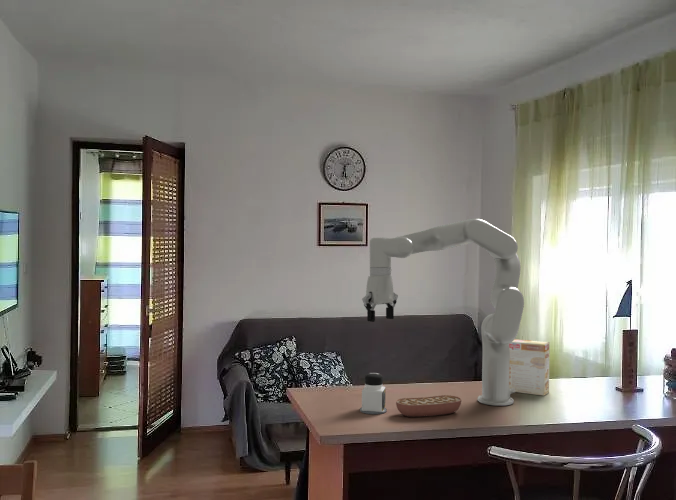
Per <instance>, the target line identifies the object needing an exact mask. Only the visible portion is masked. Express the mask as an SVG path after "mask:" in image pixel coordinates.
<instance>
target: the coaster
mask: <svg viewBox="0 0 676 500" xmlns="http://www.w3.org/2000/svg"><path fill="white" fill-rule="evenodd" d="M359 412H361V413H363V414H366V415H382V414H386V413H387V407H385V408H384V410H383V412H371V411H362V406H361V407H360V408H359Z"/></svg>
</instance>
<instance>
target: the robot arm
mask: <svg viewBox="0 0 676 500" xmlns="http://www.w3.org/2000/svg"><path fill="white" fill-rule="evenodd" d="M473 243H474V244H475V245H477V246H479V247H481V248H483V249H484V250H486V251H487V253H488V255H490V257H492V258H493V260H494V262H495V275H494V280H493V284H492V288H491V292H490V297H489V300H490V301H489V303H490V304H491V306H492V307H493V308H494V313H490V314H488V315H487V316H485V317H484V318H483V320H482V322H481V325H480V326H481V327H480V333H481V342H482V358H481V359H482V360H481V362H482V367H481V368H482V369H481V372H482V373H481V374H482V375H481V379H482V380H481V381H482V382H481V384H482V385H481V386H482V387H481V395H478V396H477V401H478V402H479V403H481V404H483V405H488V406H496V407H497V406H498V407H500V406H501V407H502V406H510V405H513V404H514V398H513V397H511V395H512V394H515V393H516V392H515V389H514V388H509V363H510V349H509V343H511V342H512V341H514V339H516V338H517V336H518V333H519V329H520V326H521V320H522V318H523V317H522V316H523V312H524V307H525V299H524V296H523V295H524V294H523V293H522V291H520V290H519V289H518V287H519V283H520V276H521V267H522V266H521V261H520V258H519V255H518V249H519V246H518V242H517V241H516V239H515V238H514V237H513V236H512V235H510V234H508V233H507V232H504V231H503V230H501V229H499V228H498V227H496V226H494V225H493V224H491V223H489V222H488V221H486V220H485V219H484V220H483V219H480V218H471V219H465V220H461V221H457V222H456V221H455V222H453V223H447V224H444V225H440V226H435V227H431V228H428V229H426V230H423V231H417V232H413V233H409V234H408V233H407V234H404V235H400V236H396V237H392V238H390V237H372V238H371V239H370V240H369V275H368V277H367V282H366V291H365V292H366V293H365V296H363V297H362V299H361V300H362V303H363V306H364V308H365V310H366V312H367V316H366V317H367V321H368V322H369V323H370V322H372V323H373V322H376V310H375V308H376V306H378V305H385V306H386V308H385V318H386V319H388V320H394V317H395V316H394V309H395V307H396V304H397V300H398V298H399V295H398V294H397V293H395V292H394V283H393V276H392V258H399V259H405V258H408V257H410V256H411V255H414V254H420V253H424V252H438V251H439V252H440V251H444V250H447V249H452V248H457V247H461V246H465V245H469V244H473Z"/></svg>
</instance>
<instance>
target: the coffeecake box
mask: <svg viewBox="0 0 676 500" xmlns="http://www.w3.org/2000/svg"><path fill="white" fill-rule="evenodd" d="M509 349H510V363H509V388H514V389H515V393H519V394H520V393H522V394H528V395H537V396H543V397H545V396H547V394H549V393H550V341H542V340H540V341H539V340H529V339H528V340H527V339H516V338H515V339H514V341H512V342H511V343H509Z"/></svg>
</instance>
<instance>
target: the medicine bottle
mask: <svg viewBox="0 0 676 500" xmlns="http://www.w3.org/2000/svg"><path fill="white" fill-rule="evenodd" d="M383 377H384V376H383V375H382V374H380V373H377V372H369V373H367V374H365V376H364V387H363V388H362V389H361V407H362V411H371V412H383V410H384V408H386V386H384V384H383V382H384V379H383Z"/></svg>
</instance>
